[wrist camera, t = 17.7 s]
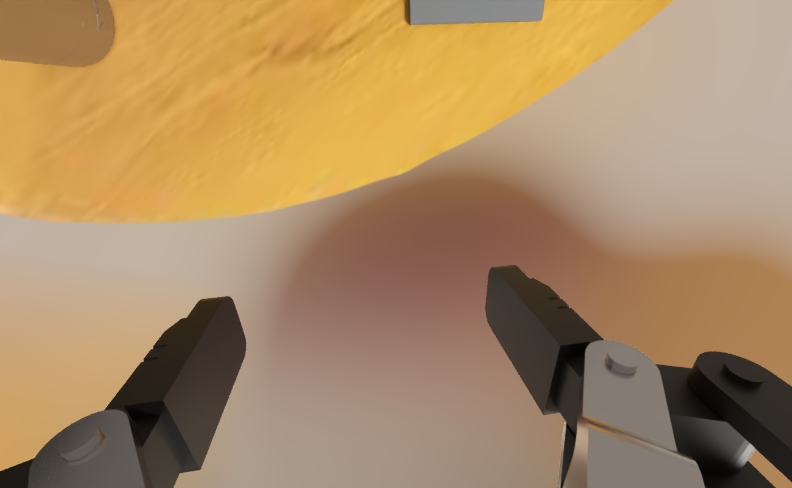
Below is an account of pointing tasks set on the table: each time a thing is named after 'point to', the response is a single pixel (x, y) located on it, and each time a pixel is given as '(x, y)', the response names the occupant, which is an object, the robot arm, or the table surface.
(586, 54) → the table surface
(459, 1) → the letter mat
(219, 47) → the table surface
